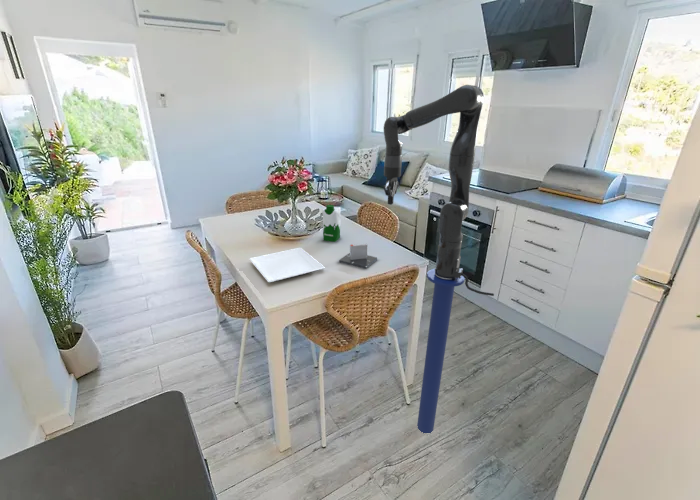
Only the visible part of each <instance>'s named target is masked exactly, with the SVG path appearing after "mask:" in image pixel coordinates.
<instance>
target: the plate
mask: <svg viewBox="0 0 700 500" xmlns="http://www.w3.org/2000/svg"><path fill="white" fill-rule="evenodd" d="M248 260H249V261H250V262H251V263H252V264H253V266H254V267H255V268H256V269H257V271H258V272H259V273H260V274H261V275H262V276H263V278H264V279H265V280H266V281H267V283H273V282H278V281H281V280H285V279H290V278H293V277H297V276H301V275H304V274H308V273H312V272H317V271H320V270H324V269H326V267H325V266H324V265H323V264H322V263H321V262H319V261H318V260H317V259H315V258H314V257H313V256H312V255H311V254H309V252H307V251H305V249H303V248H302V247H296V248H295V247H294V248H291V249H286V250H282V251H277V252H271V253H267V254H263V255H258V256H254V257H253V256H252V257H249V258H248Z"/></svg>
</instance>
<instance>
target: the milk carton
mask: <svg viewBox="0 0 700 500" xmlns="http://www.w3.org/2000/svg"><path fill="white" fill-rule="evenodd" d="M341 209H342V207H339V206H335V205H333V204H327V205H325V207H324V208H323V209H321V212H322V239H323V241H325V242H332V243H337V241H338V240H339V239H341Z"/></svg>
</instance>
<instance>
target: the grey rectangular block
mask: <svg viewBox="0 0 700 500" xmlns="http://www.w3.org/2000/svg"><path fill="white" fill-rule="evenodd" d="M349 253H350V260H357V259H367V255H368V244H367V243H357V244H352V243H351V244H350V245H349Z"/></svg>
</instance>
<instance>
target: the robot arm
mask: <svg viewBox="0 0 700 500" xmlns="http://www.w3.org/2000/svg"><path fill="white" fill-rule="evenodd" d="M484 100H485V95H484V91H483V90H482V88H481V87H479V86H477V85H474V84H473V85H472V84H463V85H461V86H459V87H458V88H456V89H455V90H452V91H451V92H449V93H448V94H445V95H444V96H442V97H440V98H439V99H437V100H434V101H432V102H429V103H427V104H423V105H422V106H418V107H416V108H413V109H410V110H408V111H406V113H405V114H403V115H400V116H390V117H387V118H386V120H385V121H384V123H383V136H384V142H385V154H384V162H383V166H384V167H383V176H384V177H385V178H386V181H385V185H383V190H384V194H385V196H387V205H393V204H394V196H395V195H396V194H397V191H398V188H399V186H400V182H399V181H398V178H400V177H401V176H402V164H403V160H402V159H403V157H402V156H403V155H402V154H403V153H402V152H403V143H402V141H400V140H399V135H402V134H404V133H407V132H409V131H411V130H413V129H416V128H419V127H422V126H426V125H428V124H430V123H432V122H434V121H435V120H437V119H439V118H441V117H445V116H448V115H453V114H459V120H458V121H459V123H458V127H457V131H456V133H455V136H454V138H453V141H452V144H451V146H450V149H449V158H448V173H449V178H450V179H449V180H450V185H451V186H450V194H449V199H448V202H447V203H445V204H444V205H443V206H442V207H441V209H440V213H439V221H438V233H439V237H438V245H437V252H436V253H437V254H436V262H435V268H436V269H435V268H434V269H435V276H436V277H437V278H439V279H442V280H453V281H455V279H456V278H460V277H461V276H463V277H464V278H465V279H464V282H465V283H464V284H465V287H466V288H467V290H469V291H471V292H474V293H476V294H479V295H484V296H491V297H494V296H495V293H493V292H486V291H482V290H478V289H475V288H472V287H470V286H469V277H468V276H467V275H466V274H465V273H463V272H464V269H463V268H460V264H461V258H462V256H461V251H462V243H463V238H464V234H463V231H462V228H463V227H462V226H463V221H464V220H465V219H466V218H467V217H468V215H469V209H470V187H471V182H472V177H473V170H474V163H475V157H476V147H477V139H478V129H479V123H480V118H481V114H482V111H483V107H484V102H485V101H484Z"/></svg>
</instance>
